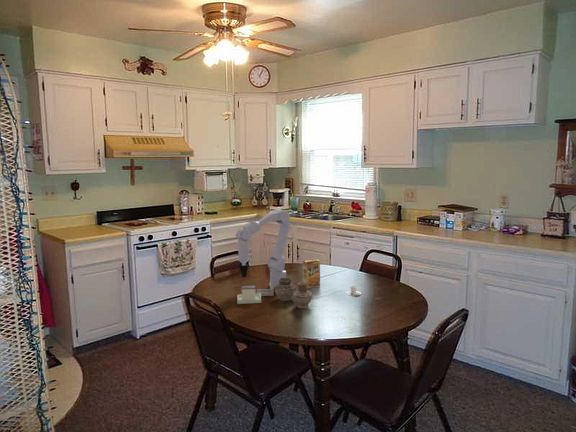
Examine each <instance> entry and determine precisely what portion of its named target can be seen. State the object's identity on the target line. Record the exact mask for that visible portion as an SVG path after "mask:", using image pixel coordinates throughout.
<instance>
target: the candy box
mask: <svg viewBox="0 0 576 432" xmlns="http://www.w3.org/2000/svg"><path fill="white" fill-rule="evenodd" d="M302 263H303V273H302V275H303V282H306V283H308V285H307V289H310V288H317V287H321V260H320V259H318V258H316V259H307V260H306V259H305V260H303V262H302Z"/></svg>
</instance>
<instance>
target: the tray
mask: <svg viewBox="0 0 576 432" xmlns="http://www.w3.org/2000/svg"><path fill="white" fill-rule="evenodd" d="M236 303H237V305H242V304H244V305H245V304H260V303H261V304H262V296H261V294H257V293H256V299H251V300H242V293H240V294H237V299H236Z"/></svg>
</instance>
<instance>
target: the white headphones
mask: <svg viewBox="0 0 576 432" xmlns="http://www.w3.org/2000/svg"><path fill="white" fill-rule="evenodd" d="M350 293H351V294H350ZM345 294H347V295H348V296H353V297H354V296H355V297H356V296H360V295H362V293H361V292H360V291H358V290H357V286H356V285H351V286H350V290H348V291H346V292H345Z"/></svg>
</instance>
